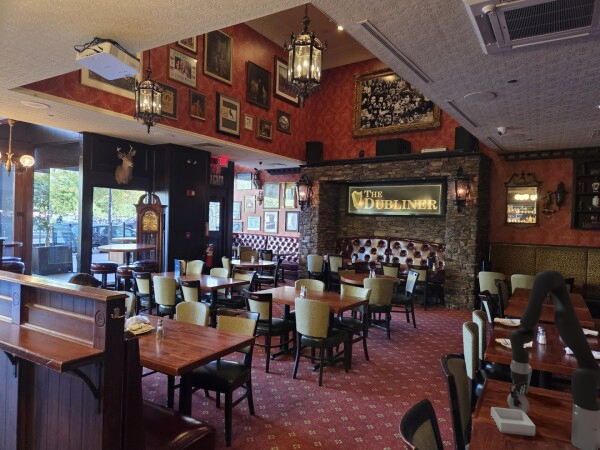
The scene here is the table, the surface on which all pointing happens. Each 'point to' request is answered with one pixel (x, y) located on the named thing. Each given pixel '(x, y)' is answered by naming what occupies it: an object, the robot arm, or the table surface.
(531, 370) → the disposable coffee cup
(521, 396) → the donut
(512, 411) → the walled tray
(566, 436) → the table surface
